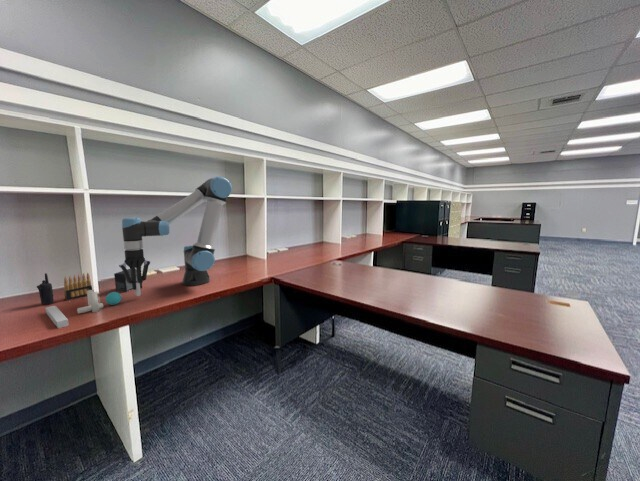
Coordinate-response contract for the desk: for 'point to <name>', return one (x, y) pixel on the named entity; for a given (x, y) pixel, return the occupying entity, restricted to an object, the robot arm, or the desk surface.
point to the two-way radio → (46, 291)
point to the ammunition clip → (77, 287)
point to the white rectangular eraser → (57, 316)
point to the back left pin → (94, 302)
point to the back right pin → (89, 296)
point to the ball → (113, 298)
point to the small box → (123, 281)
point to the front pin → (87, 308)
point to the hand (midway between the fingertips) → (138, 295)
